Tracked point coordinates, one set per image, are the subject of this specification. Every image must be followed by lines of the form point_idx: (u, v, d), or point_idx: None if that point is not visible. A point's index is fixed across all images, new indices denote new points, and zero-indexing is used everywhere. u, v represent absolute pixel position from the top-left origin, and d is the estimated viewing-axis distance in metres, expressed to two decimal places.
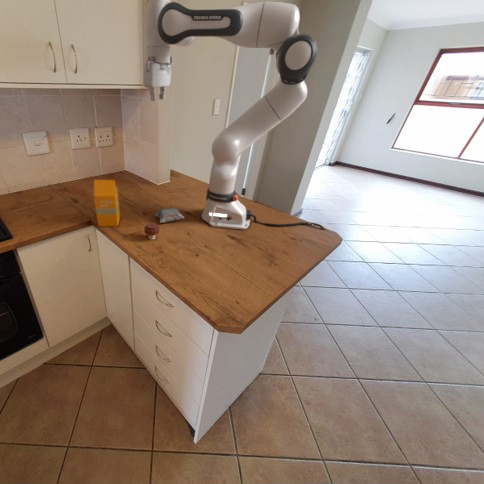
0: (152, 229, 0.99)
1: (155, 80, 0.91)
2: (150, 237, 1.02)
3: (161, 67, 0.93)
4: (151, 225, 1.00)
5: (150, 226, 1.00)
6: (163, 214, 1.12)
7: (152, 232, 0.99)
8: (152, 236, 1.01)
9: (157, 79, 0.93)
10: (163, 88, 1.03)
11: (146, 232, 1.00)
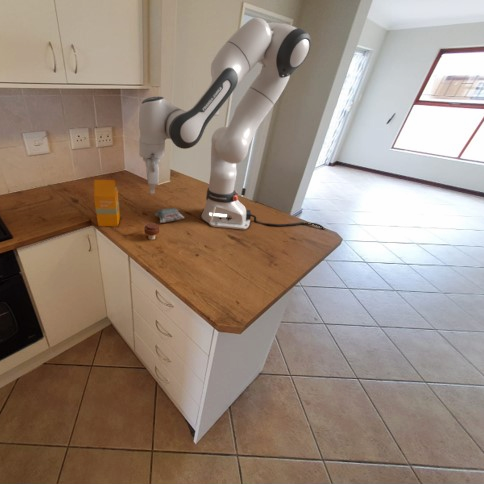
0: (152, 229, 0.99)
1: None
2: (150, 237, 1.02)
3: (158, 161, 0.87)
4: (151, 225, 1.00)
5: (150, 226, 1.00)
6: (163, 214, 1.12)
7: (152, 232, 0.99)
8: (152, 236, 1.01)
9: None
10: None
11: (146, 232, 1.00)
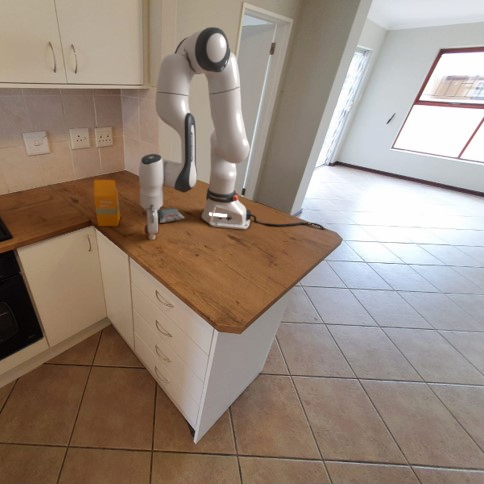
0: None
1: None
2: (150, 237, 1.02)
3: (157, 209, 0.94)
4: None
5: None
6: (163, 214, 1.12)
7: None
8: None
9: None
10: None
11: (146, 232, 1.00)
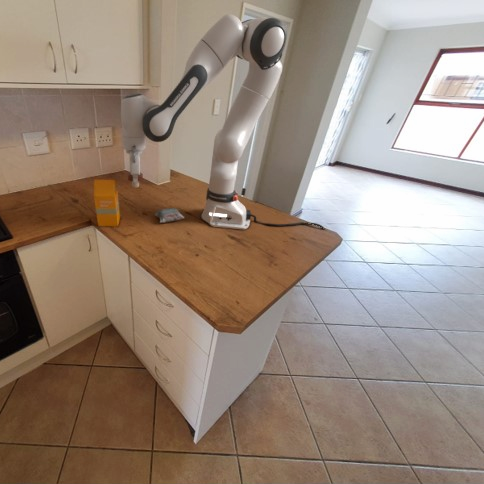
0: None
1: None
2: (134, 185, 1.02)
3: (140, 153, 0.95)
4: None
5: None
6: (163, 214, 1.12)
7: None
8: (135, 183, 1.02)
9: None
10: None
11: (129, 178, 1.00)
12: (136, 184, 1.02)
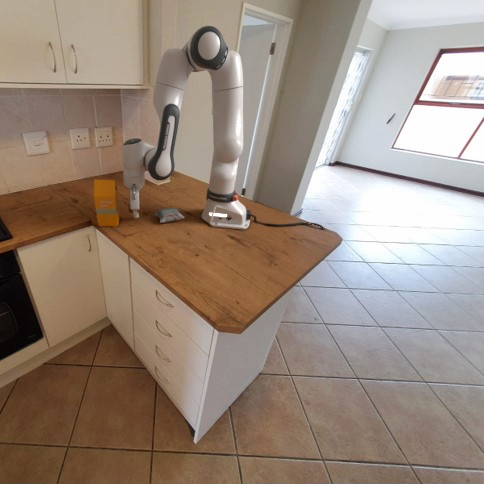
0: None
1: None
2: (134, 215, 1.12)
3: (139, 189, 1.04)
4: None
5: None
6: (163, 214, 1.12)
7: None
8: None
9: None
10: None
11: (130, 210, 1.10)
12: (136, 215, 1.12)
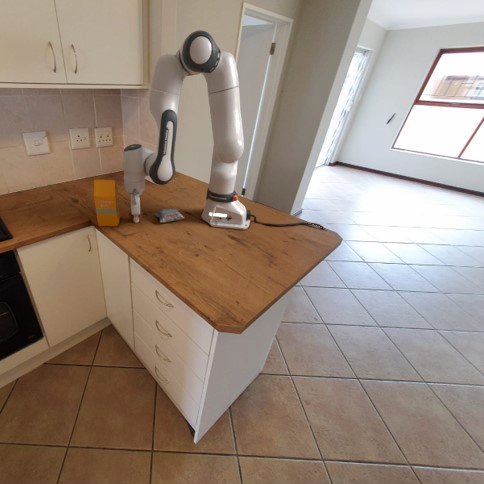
0: None
1: None
2: (134, 220, 1.13)
3: (140, 194, 1.05)
4: None
5: None
6: (163, 214, 1.12)
7: None
8: None
9: None
10: None
11: (130, 215, 1.11)
12: (136, 220, 1.13)
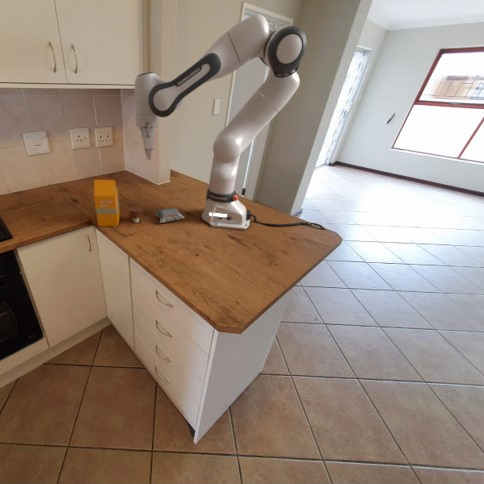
0: (135, 212, 1.10)
1: None
2: (134, 220, 1.13)
3: (153, 130, 1.00)
4: (135, 209, 1.12)
5: (134, 210, 1.11)
6: (163, 214, 1.12)
7: (135, 215, 1.10)
8: (135, 219, 1.13)
9: None
10: None
11: (130, 215, 1.11)
12: (136, 220, 1.13)
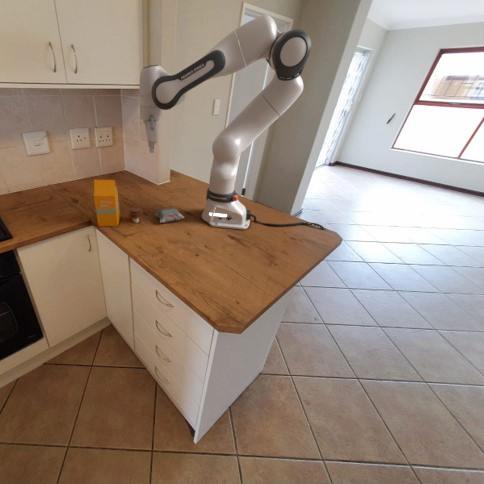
0: (135, 212, 1.10)
1: None
2: (134, 220, 1.13)
3: (156, 123, 1.01)
4: (135, 209, 1.12)
5: (134, 210, 1.11)
6: (163, 214, 1.12)
7: (135, 215, 1.10)
8: (135, 219, 1.13)
9: None
10: None
11: (130, 215, 1.11)
12: (136, 220, 1.13)
